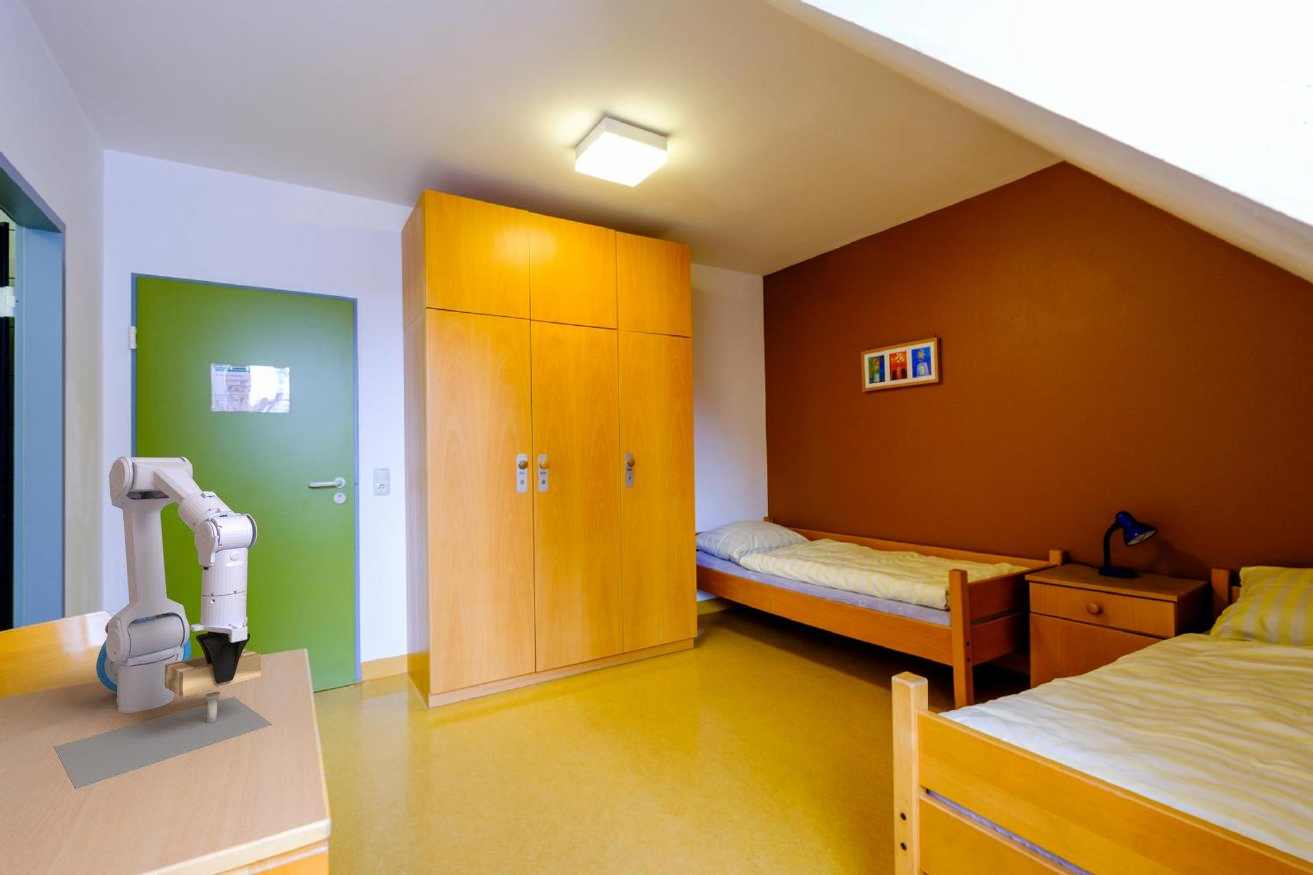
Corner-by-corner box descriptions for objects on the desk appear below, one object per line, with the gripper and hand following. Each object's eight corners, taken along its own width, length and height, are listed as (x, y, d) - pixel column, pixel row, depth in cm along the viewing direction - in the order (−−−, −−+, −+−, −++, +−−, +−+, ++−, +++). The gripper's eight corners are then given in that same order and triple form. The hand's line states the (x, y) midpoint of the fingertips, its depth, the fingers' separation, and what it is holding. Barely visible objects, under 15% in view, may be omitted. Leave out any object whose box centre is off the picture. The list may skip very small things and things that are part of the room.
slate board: (53, 754, 82) (55, 716, 83) (233, 703, 100) (234, 671, 100) (75, 798, 72) (77, 753, 72) (272, 731, 89) (273, 696, 90)
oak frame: (164, 687, 89) (164, 664, 90) (239, 668, 97) (239, 647, 98) (182, 696, 84) (182, 672, 84) (261, 675, 91) (260, 653, 92)
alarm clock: (94, 705, 100) (97, 619, 100) (97, 694, 104) (100, 612, 105) (190, 685, 108) (192, 607, 109) (188, 676, 113) (191, 601, 114)
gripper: (179, 590, 90) (176, 676, 89) (207, 604, 81) (204, 699, 81) (232, 583, 96) (229, 664, 95) (264, 594, 87) (261, 683, 86)
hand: (221, 679), depth 88 cm, fingers closed on oak frame, 2 cm apart
